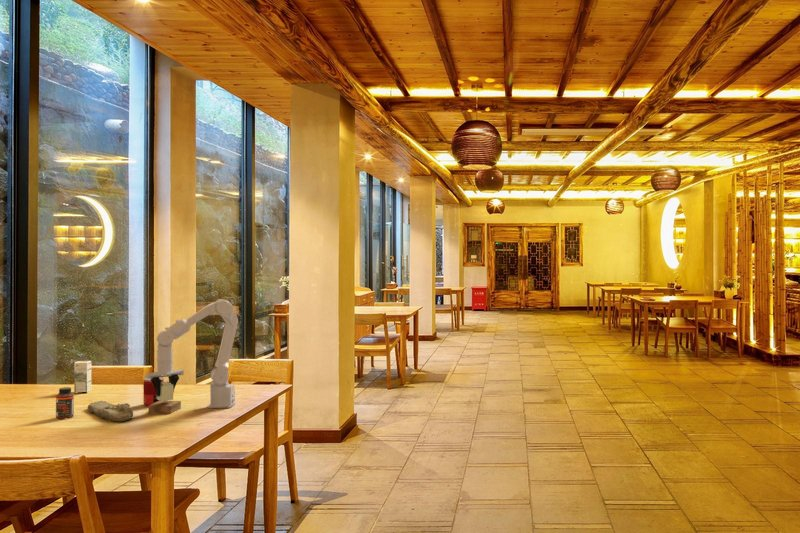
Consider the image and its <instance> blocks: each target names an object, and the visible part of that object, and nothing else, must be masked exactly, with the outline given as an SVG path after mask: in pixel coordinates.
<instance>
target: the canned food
mask: <svg viewBox="0 0 800 533" xmlns="http://www.w3.org/2000/svg"><path fill="white" fill-rule="evenodd" d="M160 379H161V382H165V381H164V377H160ZM142 386H143V406H145V407H149V405H151V404H153V403H156V402H158V401H160V400H157V395H156V391H155V388H154V385H153V383H152V382H151V379H146V377H144V378H143V384H142Z"/></svg>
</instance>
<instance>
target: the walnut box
mask: <svg viewBox="0 0 800 533" xmlns="http://www.w3.org/2000/svg"><path fill="white" fill-rule="evenodd" d="M181 409H182V401H181V400H168V401H158V402H156V403H153V404H151V405H149V406H148V414H149V415H152V414H153V415H162V414H163V415H171V413H172V414H174V413H176V412H177V411H179V410H181ZM175 411H176V412H175ZM173 412H174V413H173Z"/></svg>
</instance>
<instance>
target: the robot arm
mask: <svg viewBox="0 0 800 533" xmlns="http://www.w3.org/2000/svg"><path fill="white" fill-rule="evenodd" d="M235 310H236V309H235V307H234V306H233V304H232V303H231V302H230V300H229V301H228V300H227V299H223V298H221V299H219V298H218V299H216V301H214V302H211V303H209V304H207V305H206V306H204V307H203V308H201V309H200V310H198V311H197V312H195V313H193V314H192V315H191V316H189V317H188V318H187V319H184V318H181V319H177V320H175V322H174V323H172V324H171V325H170V326H167V327H166V326H165V328H164V329H165V330H162V331H160V332H159V333H158V334H157V336H156V341H157V350H156V351H157V352H156V356H157V357H156V360H157V361H156V364H157V365H156V367H157V368H156V372H149V373H145V378H146V379H151V382H152V383H153V385H154V388H155V391H156V395H157V396H160V386H161V379H160V377H163V378H166V377H168V382H171V384H173V394H174V392H175V388H176V385H177V383H178V381H179V379H180V376H184V374H185V373H184V370H183V369H174V370H173V368H174V367H173V364H174V363H173V361H174V360H173V358H174V357H173V354H174V353H173V343H174V340H178V339H179V338H180V337H182V336H183V335H185V334H187V333H188V332H190V330H191V327H192V326H193V325H195V324H196V323H197V322H200V321H201V320H203V319H204V318H206V317H208V316H214V315H215V316H216V315H217V314H218V315H219V316H220V318H222V320H223V322H225V324H224V330H223V333H222V337H221V343H220V347H219V350H218V355H217V359H216V360H215V363H214V367H213V368H212V369H211V372H210V374H209V376H210V378H211V380H212V381H211V383H210V395H209V396H210V401H209V402H210V403H209V404H208V405H207V406H206V408H207V409H208V408H209V409H211V408H212V409H217V408H218V409H219V408H220V409H224V408H225V409H226V408H227V409H229V408H232V407H233V406H234V405H236V394H235V393H236V389H235V387H236V386H235V384H230V383H229V378H230V377H229V368H230V367H229V366H230V365H229V364H230V363H229V362H230V358H231V354H232V350H233V346H234V341H235V337H236V333H237V330H238V329H237V328H238V325H239V317H238V316H237V313H236V311H235Z"/></svg>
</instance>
